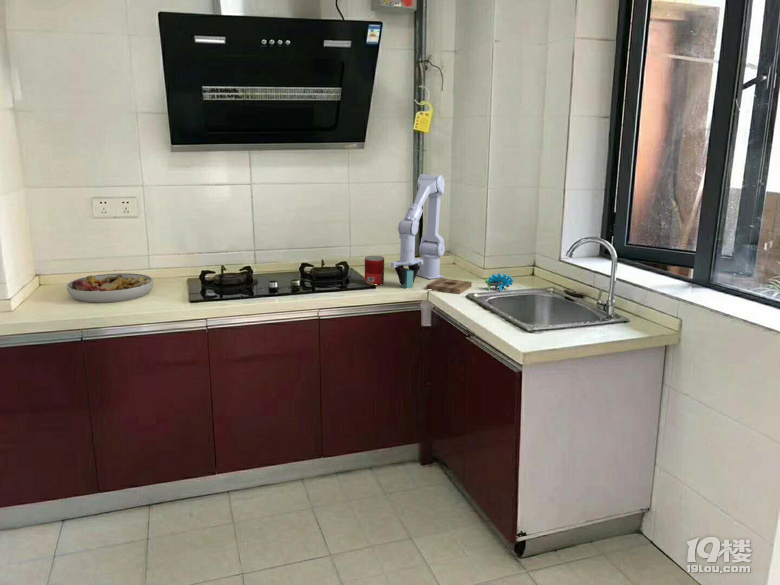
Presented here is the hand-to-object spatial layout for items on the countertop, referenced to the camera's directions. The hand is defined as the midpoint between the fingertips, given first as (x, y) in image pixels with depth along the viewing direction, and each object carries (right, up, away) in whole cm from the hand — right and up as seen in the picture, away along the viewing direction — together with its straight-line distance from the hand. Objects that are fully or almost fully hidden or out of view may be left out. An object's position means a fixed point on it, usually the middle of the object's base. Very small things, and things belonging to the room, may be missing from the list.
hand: (406, 283), depth 260 cm
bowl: (-112, -5, -17) cm, 113 cm away
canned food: (-13, 0, +6) cm, 15 cm away
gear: (+37, -3, -1) cm, 37 cm away
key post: (0, -2, 0) cm, 2 cm away
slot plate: (+17, -2, 0) cm, 17 cm away
